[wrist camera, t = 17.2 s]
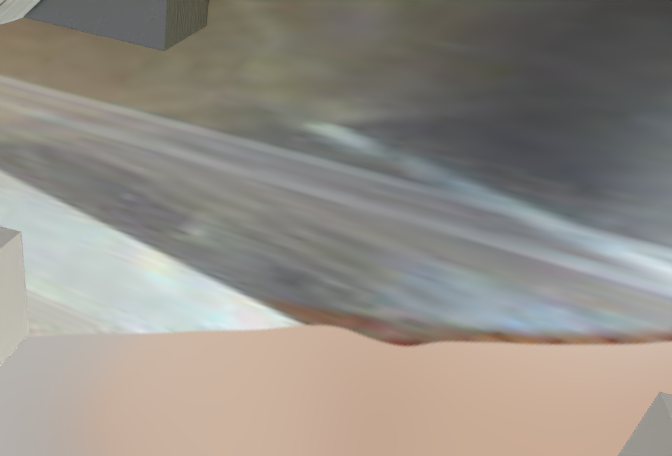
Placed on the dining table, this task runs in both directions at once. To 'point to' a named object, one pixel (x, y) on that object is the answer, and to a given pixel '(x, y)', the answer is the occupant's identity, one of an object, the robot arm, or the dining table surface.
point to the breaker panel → (127, 18)
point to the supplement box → (15, 9)
